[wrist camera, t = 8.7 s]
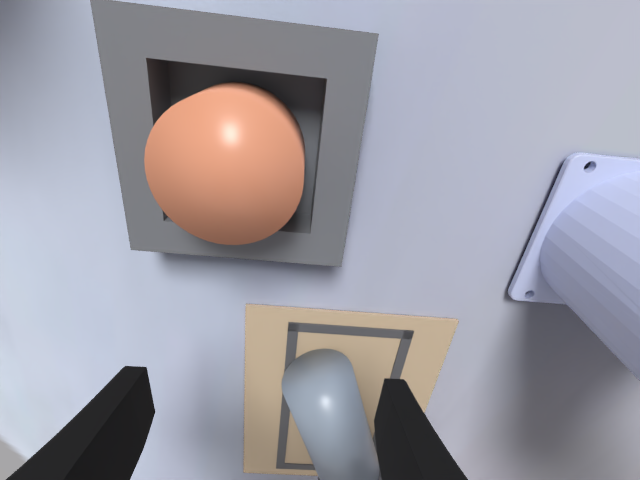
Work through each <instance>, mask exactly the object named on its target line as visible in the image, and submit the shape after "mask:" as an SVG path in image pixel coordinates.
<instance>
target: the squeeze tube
mask: <svg viewBox="0 0 640 480" xmlns="http://www.w3.org/2000/svg"><path fill="white" fill-rule="evenodd" d="M282 392H283V395H284V397H285V400H286V402H287V404H288V407H289V409H290V411H291V414H292V416H293V418H294V421H295V423H296V425H297V428H298V430H299V432H300V435H301V437H302V439H303V442H304V444H305V446H306V449H307V451H308V453H309V456H310V458H311V460H312V463H313V465H314V467H315V470H316V472H317V474H318V478H319V480H382V478H381V473H380V468H379V463H378V457H377V453H376V450H375V446H374V443H373V439H372V435H371V432H370V428H369V425H368V421H367V417H366V414H365V410H364V406H363V403H362V399H361V396H360V392H359V388H358V385H357V381H356V377H355V374H354V370H353V367H352V364H351V362H350V360H349V359H348V358H347V357H346V356H345V355H344V354H343V353H341V352H339V351H336V350H333V349H316V350H312V351H309V352H307V353H304V354H302V355H301V356H299V357H298V358H296V359H295V360H294V361H293V362H292V363H291V364H290V365H289V366H288V368H287V369H286V371H285V373H284V375H283V378H282Z"/></svg>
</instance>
